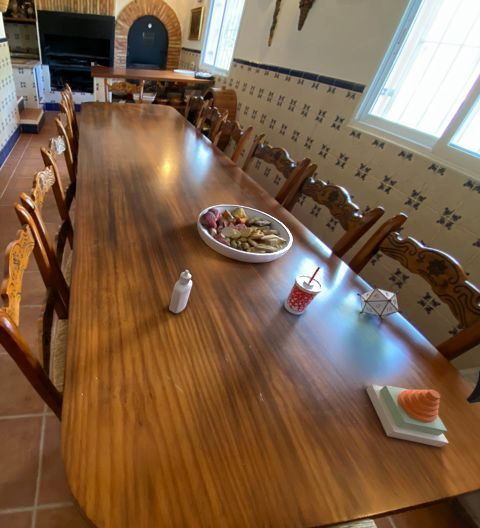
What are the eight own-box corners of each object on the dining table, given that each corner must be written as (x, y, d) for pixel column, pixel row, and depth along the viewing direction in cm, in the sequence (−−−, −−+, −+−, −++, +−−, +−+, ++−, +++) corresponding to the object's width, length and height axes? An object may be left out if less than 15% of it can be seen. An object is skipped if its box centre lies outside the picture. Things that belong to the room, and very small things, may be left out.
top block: (439, 435, 53) (447, 431, 51) (397, 426, 53) (404, 422, 52) (417, 397, 58) (424, 392, 57) (379, 390, 59) (385, 385, 57)
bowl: (276, 223, 110) (285, 204, 105) (295, 275, 87) (307, 255, 82) (195, 211, 113) (200, 192, 108) (194, 258, 91) (199, 237, 86)
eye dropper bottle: (191, 309, 74) (202, 274, 67) (172, 315, 72) (181, 279, 65) (183, 297, 77) (192, 262, 70) (164, 302, 75) (171, 267, 68)
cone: (441, 426, 52) (463, 413, 49) (406, 419, 52) (427, 406, 49) (422, 395, 56) (442, 382, 53) (391, 389, 57) (408, 375, 54)
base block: (440, 447, 53) (449, 443, 52) (387, 436, 54) (394, 431, 53) (412, 398, 60) (419, 393, 59) (365, 389, 61) (371, 384, 59)
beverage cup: (294, 319, 74) (322, 278, 65) (276, 302, 78) (299, 262, 69) (311, 312, 76) (339, 272, 67) (292, 296, 80) (316, 256, 72)
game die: (353, 319, 81) (345, 285, 79) (385, 310, 80) (379, 276, 78) (378, 332, 72) (370, 294, 70) (415, 323, 71) (408, 284, 69)
